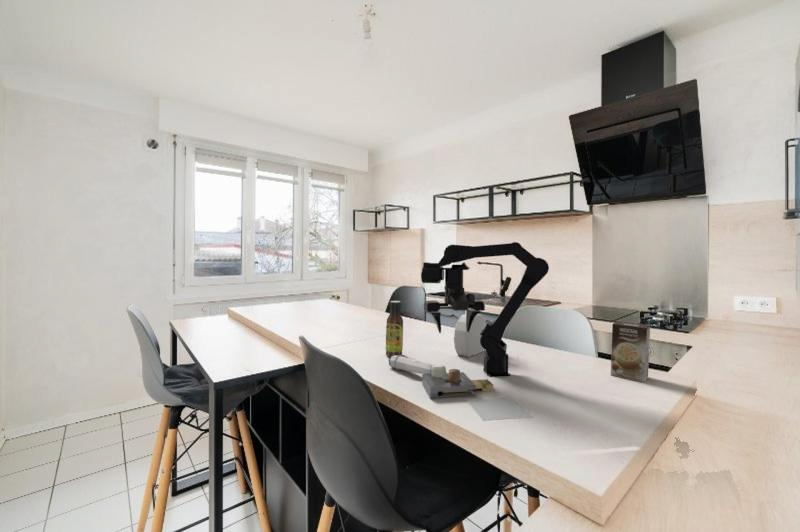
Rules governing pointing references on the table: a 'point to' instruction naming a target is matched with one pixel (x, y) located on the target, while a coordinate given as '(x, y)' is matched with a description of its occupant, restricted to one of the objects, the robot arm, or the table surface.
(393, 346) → the sauce bottle
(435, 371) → the white long cylinder
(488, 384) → the grey block with slider
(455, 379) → the walnut peg
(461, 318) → the soap bottle
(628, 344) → the coffee box
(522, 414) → the grey mat
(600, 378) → the table surface
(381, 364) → the table surface
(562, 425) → the table surface
